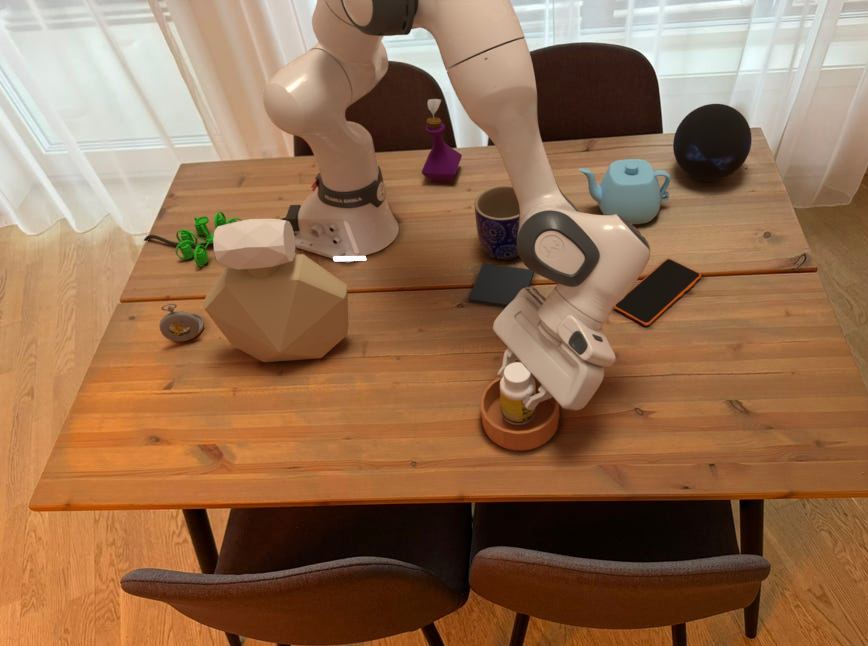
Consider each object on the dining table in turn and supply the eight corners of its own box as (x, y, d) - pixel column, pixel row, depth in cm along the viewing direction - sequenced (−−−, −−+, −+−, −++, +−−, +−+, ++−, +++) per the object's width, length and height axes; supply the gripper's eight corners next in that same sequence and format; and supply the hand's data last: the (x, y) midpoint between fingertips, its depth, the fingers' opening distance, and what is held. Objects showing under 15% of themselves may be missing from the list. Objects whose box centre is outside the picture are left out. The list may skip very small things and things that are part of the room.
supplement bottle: (525, 431, 115) (523, 391, 107) (495, 418, 117) (491, 378, 110) (542, 406, 118) (541, 365, 110) (512, 394, 120) (509, 353, 112)
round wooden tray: (473, 442, 116) (471, 425, 113) (494, 384, 123) (492, 366, 120) (549, 457, 113) (549, 440, 110) (565, 397, 120) (566, 379, 117)
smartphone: (612, 308, 132) (612, 305, 132) (667, 260, 139) (667, 257, 139) (647, 328, 128) (647, 324, 128) (702, 277, 136) (703, 274, 135)
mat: (468, 301, 137) (467, 298, 137) (483, 266, 143) (483, 263, 143) (521, 309, 135) (520, 306, 134) (534, 273, 141) (534, 270, 140)
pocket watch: (204, 313, 142) (184, 273, 134) (206, 339, 137) (186, 300, 129) (168, 322, 141) (147, 283, 133) (170, 350, 136) (147, 310, 128)
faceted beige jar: (235, 329, 138) (178, 206, 117) (363, 319, 137) (329, 192, 116) (222, 379, 130) (158, 256, 109) (358, 369, 128) (321, 242, 108)
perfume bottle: (456, 187, 161) (447, 111, 148) (423, 185, 163) (411, 110, 149) (463, 167, 166) (455, 92, 153) (431, 165, 168) (420, 91, 154)
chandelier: (194, 281, 148) (181, 254, 143) (167, 245, 157) (154, 218, 152) (262, 248, 153) (251, 221, 148) (232, 214, 162) (221, 188, 157)
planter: (536, 264, 142) (535, 217, 134) (479, 268, 143) (474, 222, 135) (532, 228, 150) (531, 181, 141) (478, 232, 150) (473, 186, 142)
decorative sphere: (669, 153, 162) (677, 89, 151) (741, 154, 160) (755, 89, 149) (669, 195, 153) (678, 129, 142) (746, 197, 150) (761, 130, 139)
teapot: (576, 149, 148) (669, 143, 146) (575, 193, 156) (663, 189, 154) (581, 186, 140) (679, 181, 138) (579, 231, 148) (672, 227, 146)
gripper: (515, 275, 112) (465, 347, 117) (599, 359, 100) (539, 435, 105) (540, 285, 117) (491, 354, 121) (623, 366, 105) (565, 439, 109)
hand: (514, 392), depth 113 cm, fingers closed on supplement bottle, 5 cm apart
